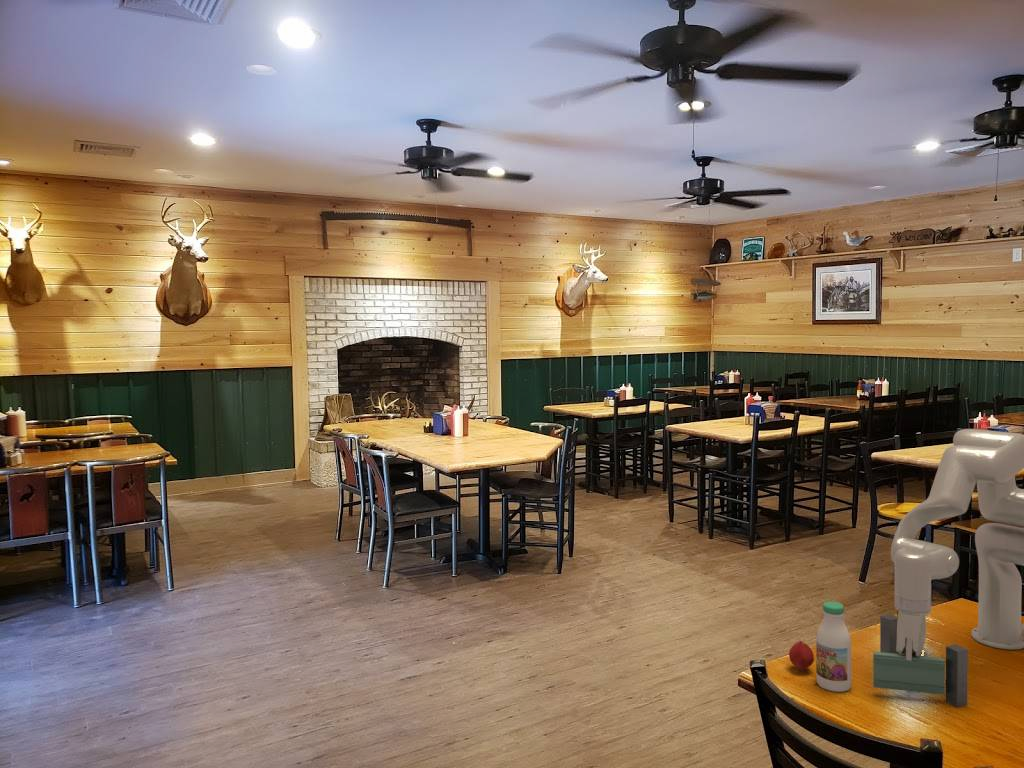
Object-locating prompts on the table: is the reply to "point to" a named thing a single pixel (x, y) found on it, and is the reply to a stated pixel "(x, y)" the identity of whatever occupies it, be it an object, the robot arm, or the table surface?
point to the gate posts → (954, 661)
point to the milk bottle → (833, 650)
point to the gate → (909, 673)
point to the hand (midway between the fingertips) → (912, 678)
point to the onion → (801, 655)
